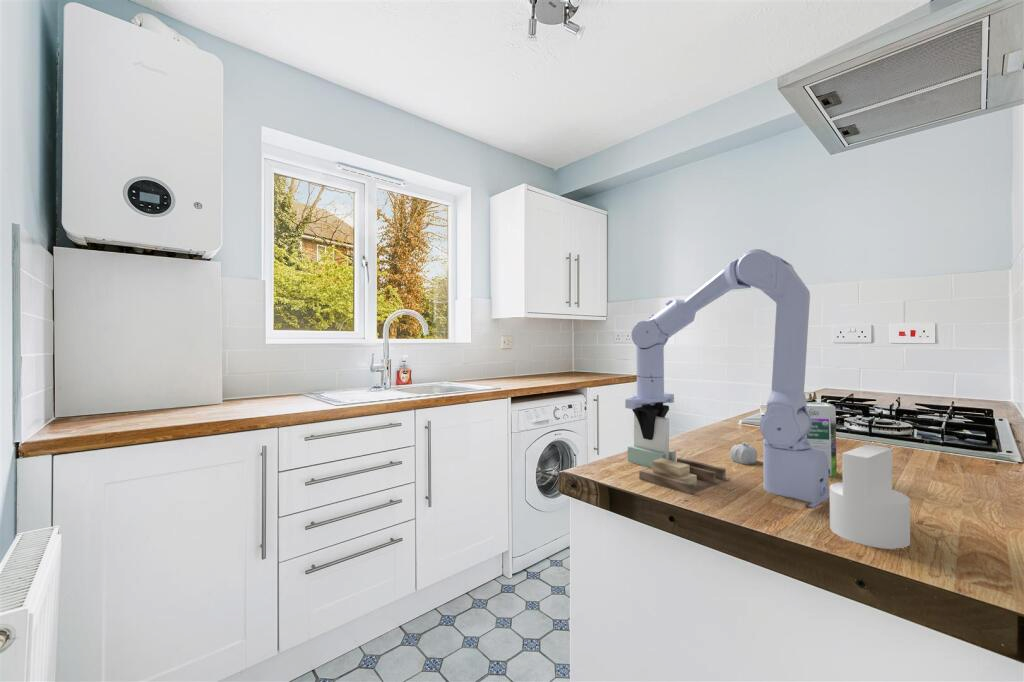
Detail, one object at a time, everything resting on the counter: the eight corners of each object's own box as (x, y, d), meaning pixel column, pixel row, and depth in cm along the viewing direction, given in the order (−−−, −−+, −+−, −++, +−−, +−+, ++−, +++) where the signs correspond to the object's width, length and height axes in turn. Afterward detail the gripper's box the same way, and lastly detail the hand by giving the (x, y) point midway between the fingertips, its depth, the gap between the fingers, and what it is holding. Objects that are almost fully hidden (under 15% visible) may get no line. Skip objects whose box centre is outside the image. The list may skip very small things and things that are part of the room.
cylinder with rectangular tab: (845, 516, 70) (844, 440, 70) (920, 537, 62) (919, 452, 62) (818, 530, 65) (817, 448, 65) (896, 555, 58) (895, 463, 58)
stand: (676, 469, 96) (675, 451, 96) (661, 474, 93) (661, 454, 93) (641, 460, 103) (641, 443, 103) (627, 464, 100) (627, 446, 100)
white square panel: (668, 460, 95) (669, 418, 95) (664, 461, 94) (664, 419, 94) (638, 452, 101) (638, 413, 101) (634, 453, 101) (634, 413, 100)
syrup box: (804, 476, 90) (804, 404, 90) (793, 468, 96) (793, 400, 96) (837, 478, 89) (836, 405, 88) (824, 469, 94) (823, 401, 94)
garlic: (760, 469, 95) (760, 445, 95) (732, 467, 97) (732, 443, 97) (754, 462, 101) (754, 439, 101) (728, 460, 103) (728, 437, 102)
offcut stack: (696, 484, 83) (696, 465, 83) (685, 488, 81) (685, 469, 81) (663, 475, 89) (663, 457, 89) (652, 479, 87) (652, 460, 87)
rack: (731, 482, 87) (731, 468, 87) (690, 498, 79) (690, 482, 79) (680, 469, 96) (680, 456, 96) (639, 482, 88) (639, 468, 88)
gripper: (655, 373, 105) (655, 430, 105) (613, 377, 97) (614, 439, 97) (682, 375, 99) (682, 436, 100) (640, 379, 91) (641, 446, 91)
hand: (650, 438), depth 98 cm, fingers closed on white square panel
